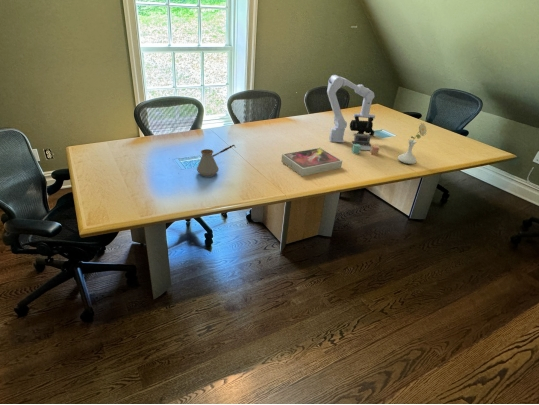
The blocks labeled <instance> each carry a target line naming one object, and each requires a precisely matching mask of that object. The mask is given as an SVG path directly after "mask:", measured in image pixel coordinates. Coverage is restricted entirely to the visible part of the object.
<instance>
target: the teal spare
mask: <svg viewBox="0 0 539 405" xmlns="http://www.w3.org/2000/svg"><path fill="white" fill-rule="evenodd" d="M360 147H361V146H360V144H353V143H352V149H351V152H352V153H353V154H360V152H361V150H360Z"/></svg>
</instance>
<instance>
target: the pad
mask: <svg viewBox="0 0 539 405" xmlns="http://www.w3.org/2000/svg"><path fill="white" fill-rule="evenodd" d="M360 146H361V147H360V151H362V152H363V151H365V152H370V150H371V146H368V145H360Z"/></svg>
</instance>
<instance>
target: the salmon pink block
mask: <svg viewBox="0 0 539 405" xmlns="http://www.w3.org/2000/svg"><path fill="white" fill-rule="evenodd" d="M370 147H371V150H370V151H369V153H370V155H371V156H373V155H374V156H378V155H379V151H380V147H379V145H378V144H377V145H376V144H375V145H373V144H371V146H370Z"/></svg>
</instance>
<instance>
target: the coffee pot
mask: <svg viewBox="0 0 539 405" xmlns="http://www.w3.org/2000/svg"><path fill="white" fill-rule="evenodd" d="M231 148H235V149H236V148H237V147H236V145H235V144H232V145H229V146H228V147H225V148H224V149H222V150H220V151H219V152H216V153H215V154H214V150H212V149H210V148H209V149H207V148H206V149H202V150H201V151H200V153H201V157H200V160H199V162H198V165H197V166H196V170H197V173H198V174H200V176H202V177H204V178H205V177H206V178H209V177H210V178H211V177H214V176H215V175H216V174H217V173H218V172H219V166H218V164H217V162H216V160H215V157H217V156H218V155H219V154H222V153H224V152H226V151H228V150H229V149H231Z"/></svg>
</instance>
